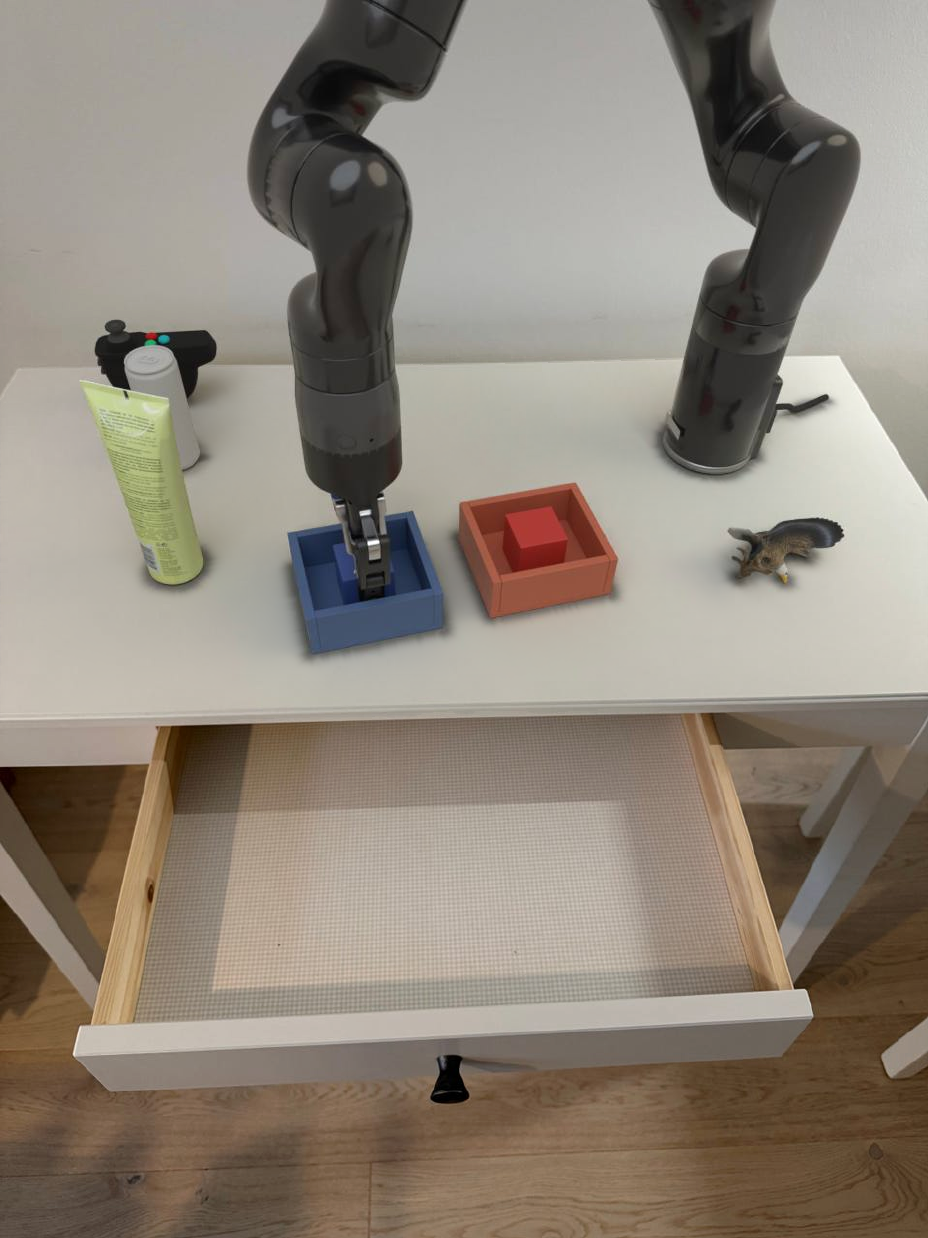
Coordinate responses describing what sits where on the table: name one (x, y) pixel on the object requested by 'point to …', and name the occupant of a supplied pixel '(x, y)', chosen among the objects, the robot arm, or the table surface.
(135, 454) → the tube
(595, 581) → the red bin
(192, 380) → the controller
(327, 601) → the blue bin
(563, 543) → the red block
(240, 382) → the table surface
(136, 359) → the upturned grey cup
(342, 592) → the blue block
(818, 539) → the eagle figurine
